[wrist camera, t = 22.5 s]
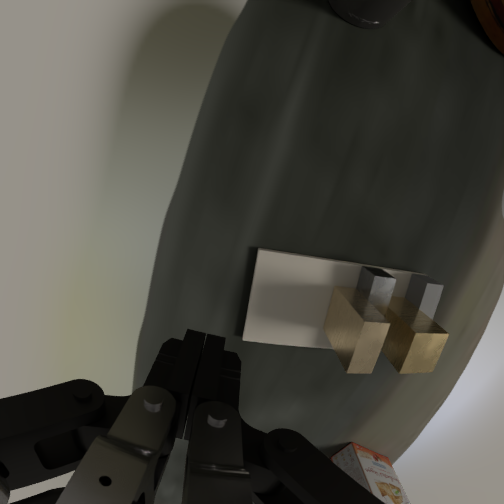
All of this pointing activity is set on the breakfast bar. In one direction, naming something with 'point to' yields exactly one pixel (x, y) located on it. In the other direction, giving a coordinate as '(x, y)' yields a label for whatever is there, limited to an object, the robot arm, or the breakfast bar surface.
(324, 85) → the breakfast bar surface
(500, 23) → the brown vase
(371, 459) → the cracker box
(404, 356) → the brass block
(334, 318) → the sliding jaw
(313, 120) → the breakfast bar surface
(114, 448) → the robot arm
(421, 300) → the vise
